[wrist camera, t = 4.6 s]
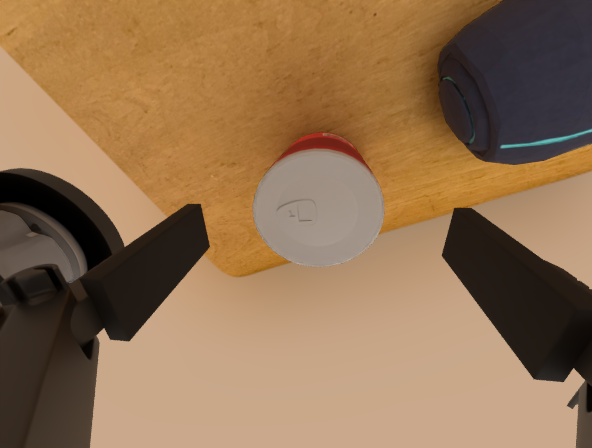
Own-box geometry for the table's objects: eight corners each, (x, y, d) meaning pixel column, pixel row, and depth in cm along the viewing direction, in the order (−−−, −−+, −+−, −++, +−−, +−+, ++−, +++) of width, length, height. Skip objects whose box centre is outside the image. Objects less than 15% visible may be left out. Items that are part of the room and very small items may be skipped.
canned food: (269, 148, 24) (230, 177, 14) (350, 117, 22) (368, 127, 12) (296, 216, 27) (279, 279, 17) (369, 194, 25) (397, 252, 15)
